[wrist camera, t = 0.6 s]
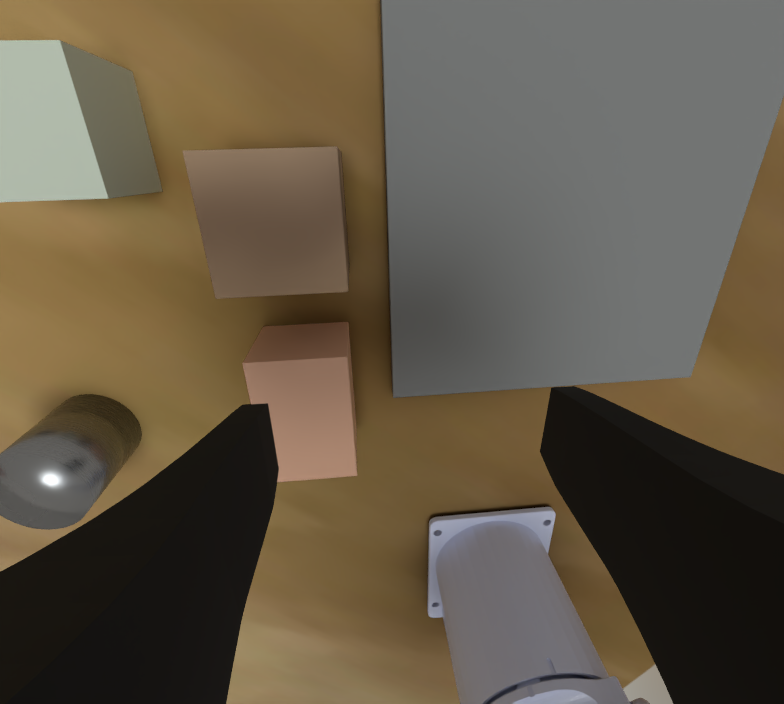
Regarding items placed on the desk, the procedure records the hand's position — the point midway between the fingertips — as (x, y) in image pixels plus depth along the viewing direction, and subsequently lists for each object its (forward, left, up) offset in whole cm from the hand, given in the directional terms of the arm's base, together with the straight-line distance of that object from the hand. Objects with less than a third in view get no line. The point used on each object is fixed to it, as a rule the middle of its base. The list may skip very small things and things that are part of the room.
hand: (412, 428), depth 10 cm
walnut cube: (+4, +4, -10) cm, 11 cm away
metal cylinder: (-6, +15, -10) cm, 18 cm away
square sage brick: (+7, +11, -10) cm, 16 cm away
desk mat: (+3, -8, -10) cm, 13 cm away
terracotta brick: (-4, +4, -10) cm, 11 cm away
